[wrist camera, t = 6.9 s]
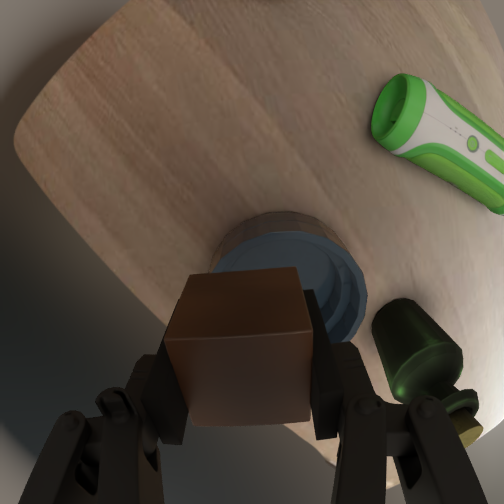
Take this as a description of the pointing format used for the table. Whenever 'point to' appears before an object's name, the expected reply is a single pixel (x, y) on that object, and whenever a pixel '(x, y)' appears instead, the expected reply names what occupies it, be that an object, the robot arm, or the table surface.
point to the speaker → (441, 138)
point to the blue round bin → (301, 264)
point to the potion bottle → (424, 363)
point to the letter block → (243, 348)
